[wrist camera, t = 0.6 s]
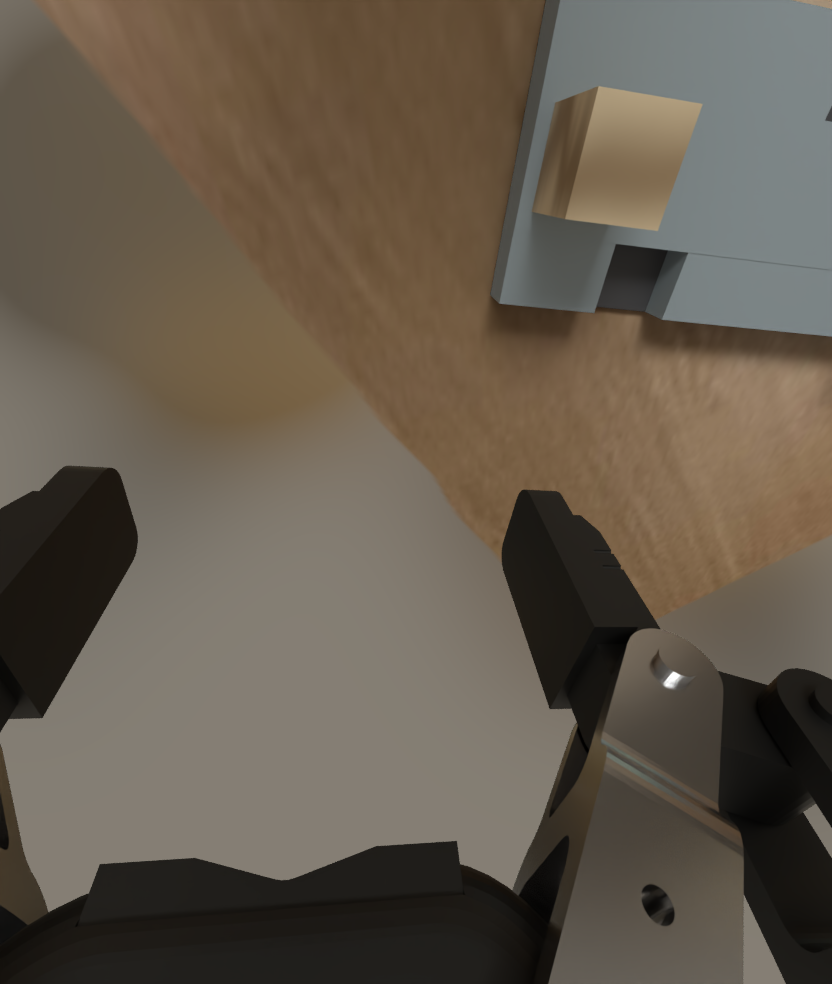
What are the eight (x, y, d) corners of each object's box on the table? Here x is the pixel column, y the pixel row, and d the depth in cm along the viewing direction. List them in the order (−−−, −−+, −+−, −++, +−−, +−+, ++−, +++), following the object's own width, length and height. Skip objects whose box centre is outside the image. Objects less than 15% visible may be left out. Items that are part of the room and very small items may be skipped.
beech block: (555, 102, 22) (598, 86, 18) (641, 116, 23) (702, 103, 18) (531, 211, 24) (565, 218, 20) (609, 221, 25) (657, 230, 21)
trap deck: (550, -27, 21) (600, -80, 17) (1036, 73, 25) (1181, 51, 21) (490, 295, 29) (512, 316, 25) (867, 333, 33) (945, 357, 28)
